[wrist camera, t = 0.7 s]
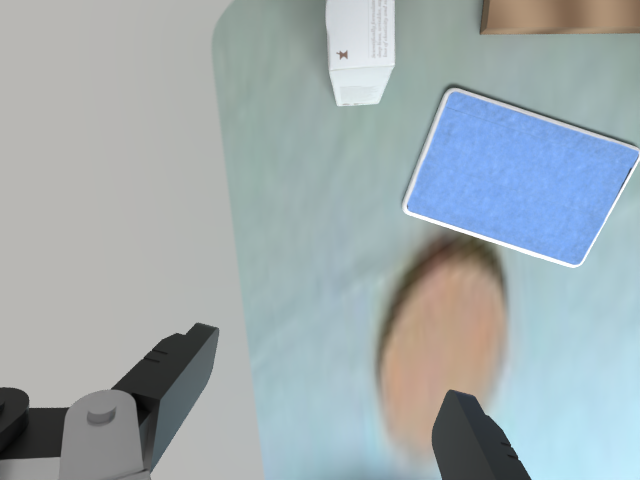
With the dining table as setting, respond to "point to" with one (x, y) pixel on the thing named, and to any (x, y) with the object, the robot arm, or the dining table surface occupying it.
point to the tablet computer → (517, 178)
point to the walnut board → (560, 16)
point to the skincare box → (360, 49)
